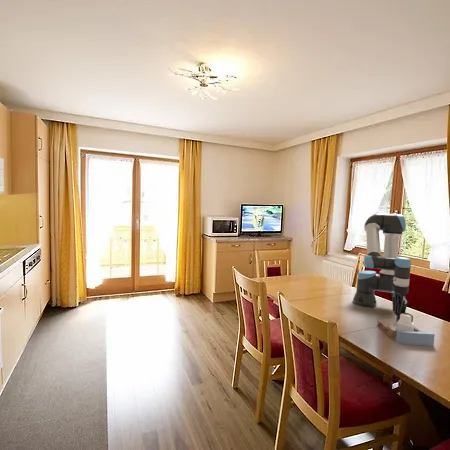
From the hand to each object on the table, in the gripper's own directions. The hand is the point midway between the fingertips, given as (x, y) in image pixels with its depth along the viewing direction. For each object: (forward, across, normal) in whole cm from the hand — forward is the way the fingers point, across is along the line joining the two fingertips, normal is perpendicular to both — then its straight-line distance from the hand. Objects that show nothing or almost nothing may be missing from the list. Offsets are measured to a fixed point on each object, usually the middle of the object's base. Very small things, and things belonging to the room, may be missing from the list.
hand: (397, 326), depth 160 cm
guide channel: (+2, +5, 0) cm, 6 cm away
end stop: (+2, +16, 0) cm, 16 cm away
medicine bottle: (+2, +7, 0) cm, 8 cm away
